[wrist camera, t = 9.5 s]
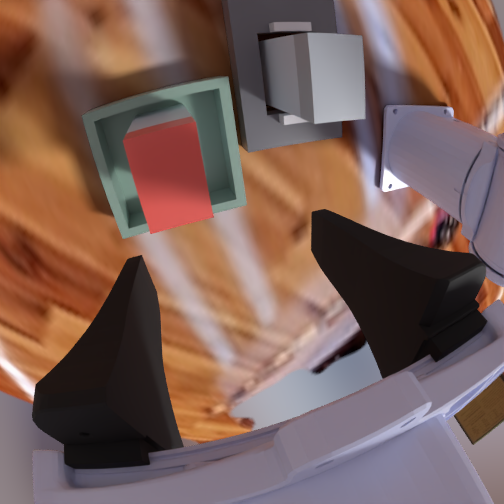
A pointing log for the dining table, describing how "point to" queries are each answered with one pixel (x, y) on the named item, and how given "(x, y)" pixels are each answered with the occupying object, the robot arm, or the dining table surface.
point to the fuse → (315, 76)
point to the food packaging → (483, 411)
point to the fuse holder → (250, 72)
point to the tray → (210, 138)
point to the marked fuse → (168, 168)
